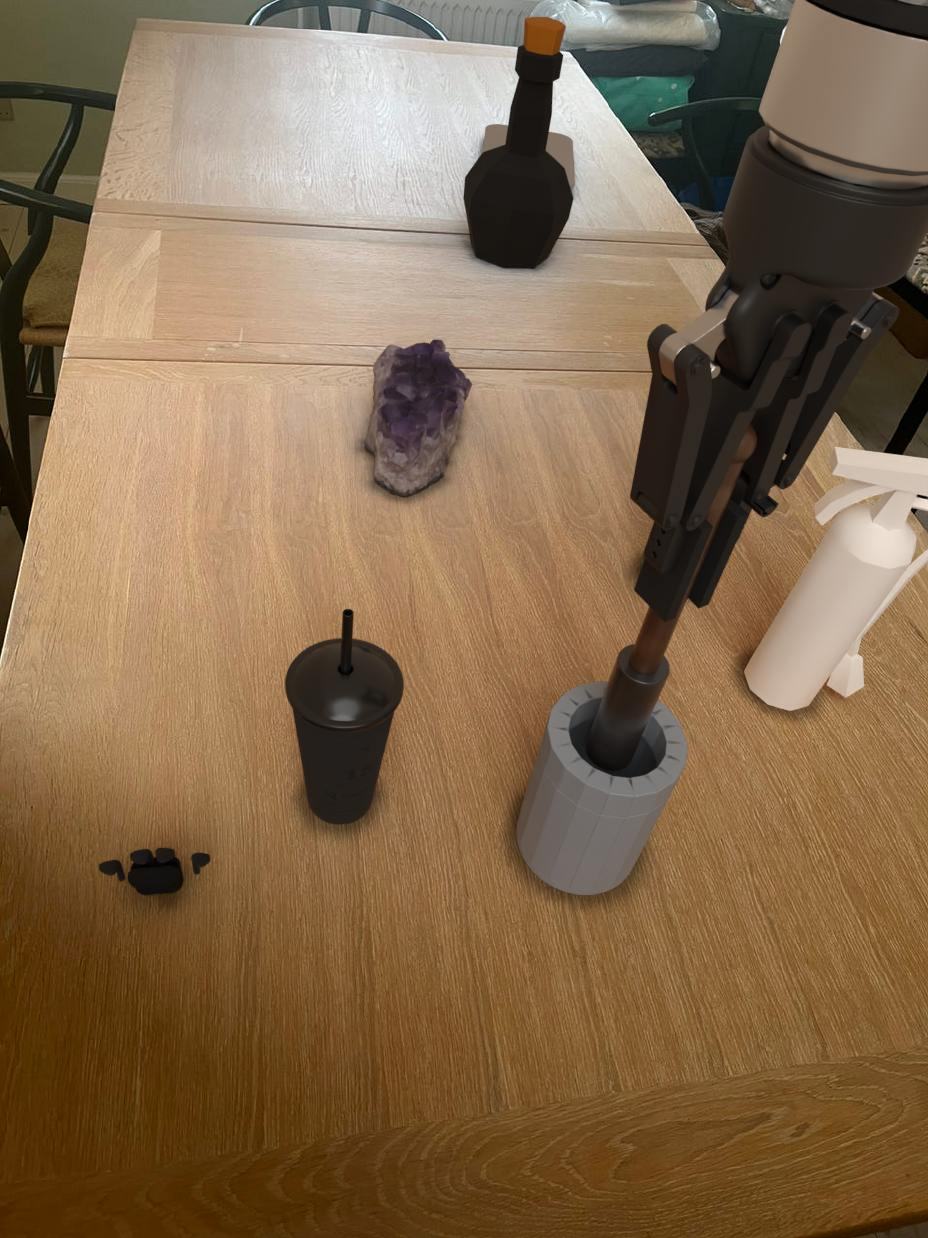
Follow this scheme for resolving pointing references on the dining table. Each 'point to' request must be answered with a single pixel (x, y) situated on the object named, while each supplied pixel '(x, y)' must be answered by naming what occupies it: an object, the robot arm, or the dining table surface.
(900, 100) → the robot arm
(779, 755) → the dining table surface
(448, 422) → the geode
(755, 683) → the fire extinguisher
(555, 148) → the tablet
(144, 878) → the wireless earbuds
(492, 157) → the bottle
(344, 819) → the drinking cup
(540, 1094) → the dining table surface
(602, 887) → the gray cylindrical holder
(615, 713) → the brush
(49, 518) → the dining table surface
